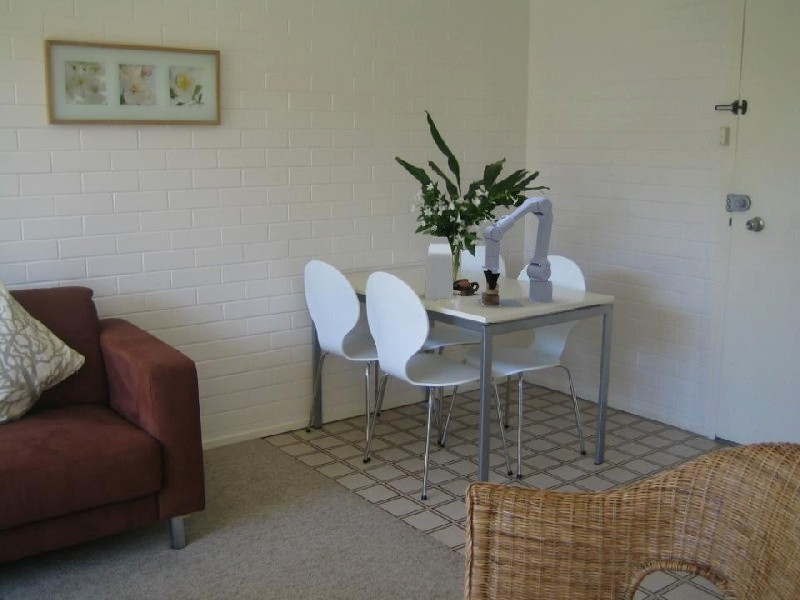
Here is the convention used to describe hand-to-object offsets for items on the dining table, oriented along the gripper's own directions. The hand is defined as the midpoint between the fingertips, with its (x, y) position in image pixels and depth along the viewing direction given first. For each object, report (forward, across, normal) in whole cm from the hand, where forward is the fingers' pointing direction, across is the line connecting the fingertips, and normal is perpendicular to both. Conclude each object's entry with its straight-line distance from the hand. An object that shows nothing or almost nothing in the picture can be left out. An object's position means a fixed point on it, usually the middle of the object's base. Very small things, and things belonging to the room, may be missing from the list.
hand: (491, 288), depth 366 cm
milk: (+7, -20, -19) cm, 29 cm away
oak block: (+2, 0, 0) cm, 2 cm away
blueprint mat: (+7, -3, +4) cm, 9 cm away
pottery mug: (+7, -25, -7) cm, 27 cm away
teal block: (+6, -7, 0) cm, 10 cm away
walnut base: (+6, 0, 0) cm, 6 cm away
